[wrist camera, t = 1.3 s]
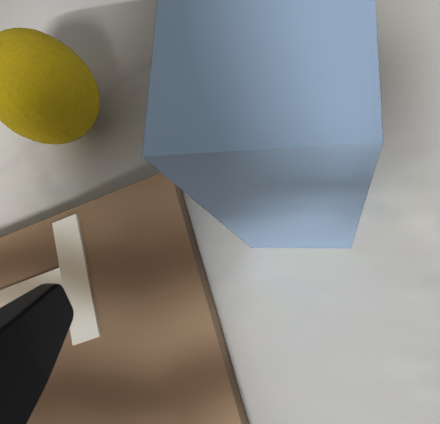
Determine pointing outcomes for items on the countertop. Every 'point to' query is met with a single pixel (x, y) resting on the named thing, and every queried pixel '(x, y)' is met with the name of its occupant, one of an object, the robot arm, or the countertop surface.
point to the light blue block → (268, 114)
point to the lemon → (45, 88)
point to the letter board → (127, 312)
